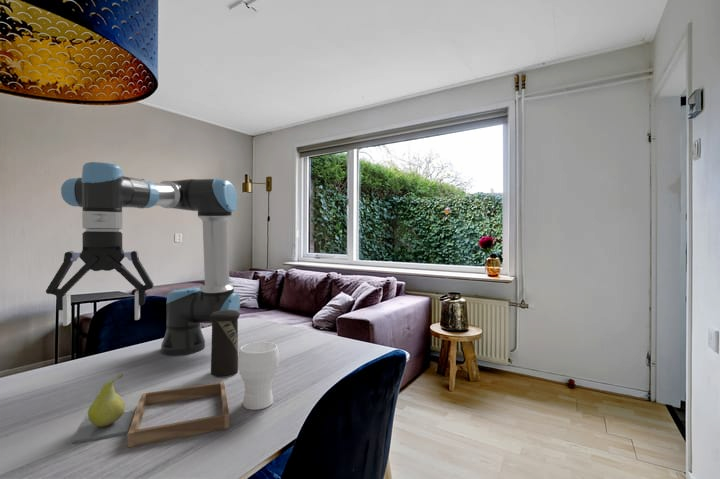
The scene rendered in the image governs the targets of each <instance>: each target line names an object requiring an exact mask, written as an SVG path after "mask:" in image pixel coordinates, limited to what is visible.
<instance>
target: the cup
mask: <svg viewBox="0 0 720 479" xmlns="http://www.w3.org/2000/svg"><path fill="white" fill-rule="evenodd" d="M279 365H280V352H279V349H278V345H277V344H276V343H274V342H269V341H253V342H250V343H246V344H243V345H242V346H241V347H239V351H238V372H239V375H240V378H241V379H242V381H243V382H244V383H243V384H244V395H243V400H242V406H243V407H244V408H245V409H247V410H254V411H255V410H257V411H258V410H262V409H267V408H268V407H271V405H273V403H274V397H273V391H272V387H273V380H274V378H275V376H276V374H277V371H278V369H279Z"/></svg>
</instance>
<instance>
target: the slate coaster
mask: <svg viewBox="0 0 720 479" xmlns="http://www.w3.org/2000/svg"><path fill="white" fill-rule="evenodd" d="M135 412H136V410H130V411H124V413H123V414H122V416H121V417H120V418H119V419H118V420H116V421H115V422H113V423H111V424H109V425H107V426H103V427H99V426H96V425H94V424H93V423H91V422H90V420H89V418H88V417H86V418H85V419H84V421H83V422H82V423H81V425H80V427H79V429H77V432H76V433H75V435H74V437H73V438H72V440H71V444H73V443H74V444H78V443H85V442H89V440H90V441H95V439H96V440H100V438H101V439H107V438H112V437H117V435H118V436H122V435H123V434H124V435H128V432H129V429H130V426H131V423H132V421H133V418H134V415H135ZM111 436H112V437H111ZM106 437H107V438H106ZM84 441H85V442H84Z"/></svg>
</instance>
